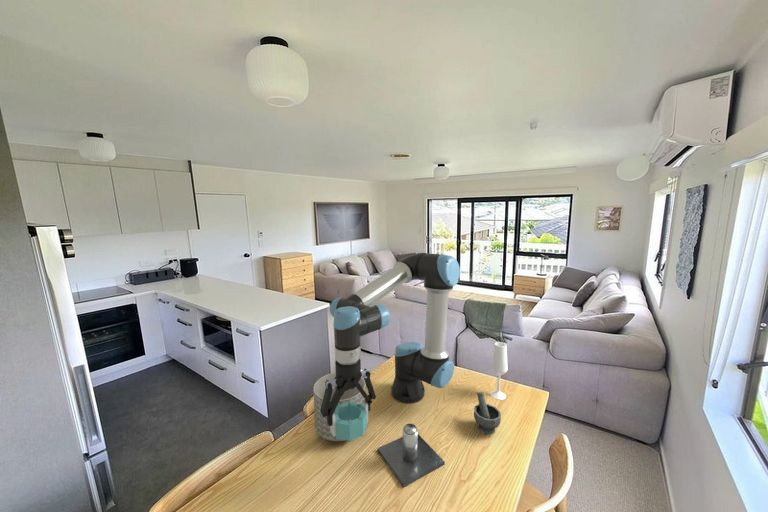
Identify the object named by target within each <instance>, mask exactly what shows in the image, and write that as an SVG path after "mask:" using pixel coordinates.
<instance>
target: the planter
mask: <svg viewBox="0 0 768 512" xmlns="http://www.w3.org/2000/svg"><path fill="white" fill-rule="evenodd" d="M335 376H336V371H334V372H331V373H328V374H326V375H323V376H322V377H320V378H318V380H317V381H316V382H315V383H314V385H313V413H314V416H313V417H314V428H315V429H314V430H315V433H316V434H317V436H319V437H320V438H321V439H324V440H327V441H330V442H343V441H345V440H343V439H338V438H336V436H335V437H333V435H332V433H331V431H330V426H329V425H328V423H327V416H326V417H323V416H322V414H321V412H320V410H321V406H322V401H323V397H324V393H325V389H326V385H325V381H326V380H329V381H331V380H334V379H335ZM358 383H359V384H360V385H361V387H362V388H363V390H364V391H365V392H367V391H366V383H365V380H364V378H363V377H361V379H360V380H359V382H358ZM336 386H337V384H335V385H334V389H332V396H331V399H332V397H333V395H334V393H335V391H336ZM340 389H341V388H340ZM362 400H365V399H364V397H363V396H362V395H361V393H360V392H359V390H358V389H357V388H356V387H355V388H354V389H349V390H348V391H345V392H344V394H343V395H342V396H341V398H340V401H339V403H338V405H337V406H339V405H342V404H344V403H347V402H353V403H359V404H362ZM330 401H331V400H330ZM347 421H352V420H350V419H349V420H347Z"/></svg>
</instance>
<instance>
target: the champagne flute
mask: <svg viewBox="0 0 768 512" xmlns="http://www.w3.org/2000/svg"><path fill="white" fill-rule="evenodd" d="M507 345H508V344H506V343H505V342H502V341H496V342H495V343H494V348H493V354H492V361H491V370H492V371H493V372H494V373H495V374H496V375H497V380H496V382H497V386H496V390H492V391H490V396H491V398H493V399H495V400H499V401H500V400H501V401H503V400H506V398H507V394H505V393H504V392H502V391H501V376H503V375H505V374H506V373H507V371H508V368H509V367H508V349H507V347H508V346H507Z"/></svg>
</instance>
